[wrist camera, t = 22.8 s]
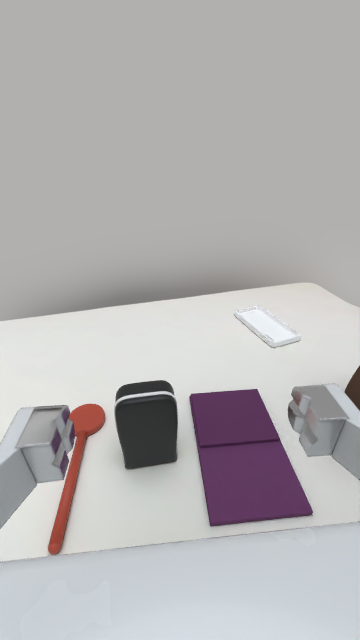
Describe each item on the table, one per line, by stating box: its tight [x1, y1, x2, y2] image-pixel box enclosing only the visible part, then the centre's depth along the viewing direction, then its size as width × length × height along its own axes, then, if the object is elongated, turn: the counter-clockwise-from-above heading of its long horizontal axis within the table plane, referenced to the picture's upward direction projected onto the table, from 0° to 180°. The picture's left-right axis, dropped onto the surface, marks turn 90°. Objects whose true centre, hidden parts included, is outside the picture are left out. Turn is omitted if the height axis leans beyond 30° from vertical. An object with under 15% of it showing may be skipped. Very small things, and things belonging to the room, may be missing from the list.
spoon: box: [48, 404, 105, 554], centre depth 35 cm, size 5×19×1 cm, turn 5°
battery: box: [114, 380, 178, 469], centre depth 34 cm, size 7×4×11 cm, turn 99°
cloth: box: [190, 389, 313, 526], centre depth 37 cm, size 11×18×1 cm, turn 5°
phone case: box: [235, 305, 301, 347], centre depth 63 cm, size 7×1×15 cm
